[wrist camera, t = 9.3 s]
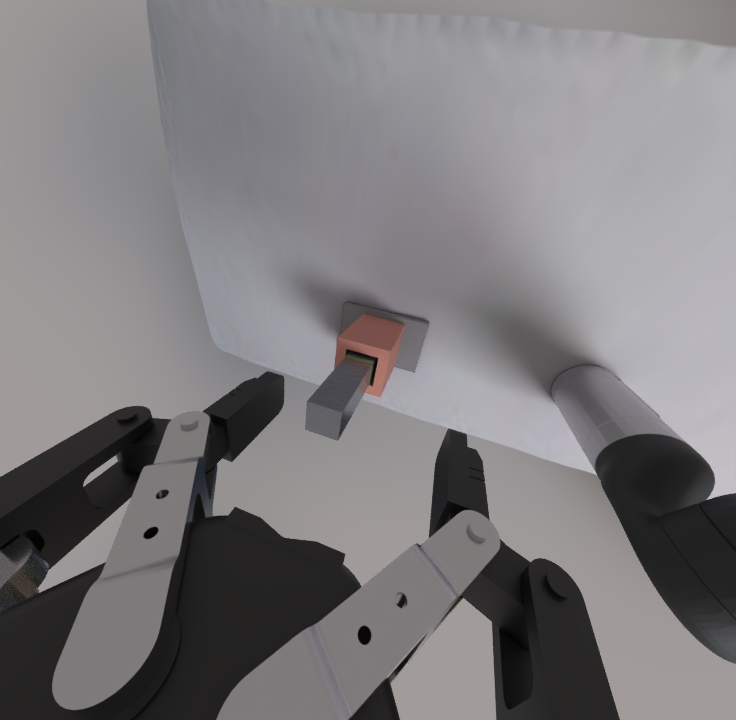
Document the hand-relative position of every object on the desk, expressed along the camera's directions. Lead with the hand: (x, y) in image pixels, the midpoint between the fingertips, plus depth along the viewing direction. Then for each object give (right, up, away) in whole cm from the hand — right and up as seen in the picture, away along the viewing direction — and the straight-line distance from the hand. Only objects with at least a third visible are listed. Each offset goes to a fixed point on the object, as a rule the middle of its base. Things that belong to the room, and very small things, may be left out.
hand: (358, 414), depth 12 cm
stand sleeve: (+3, +7, +40) cm, 40 cm away
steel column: (+1, +4, +32) cm, 33 cm away
